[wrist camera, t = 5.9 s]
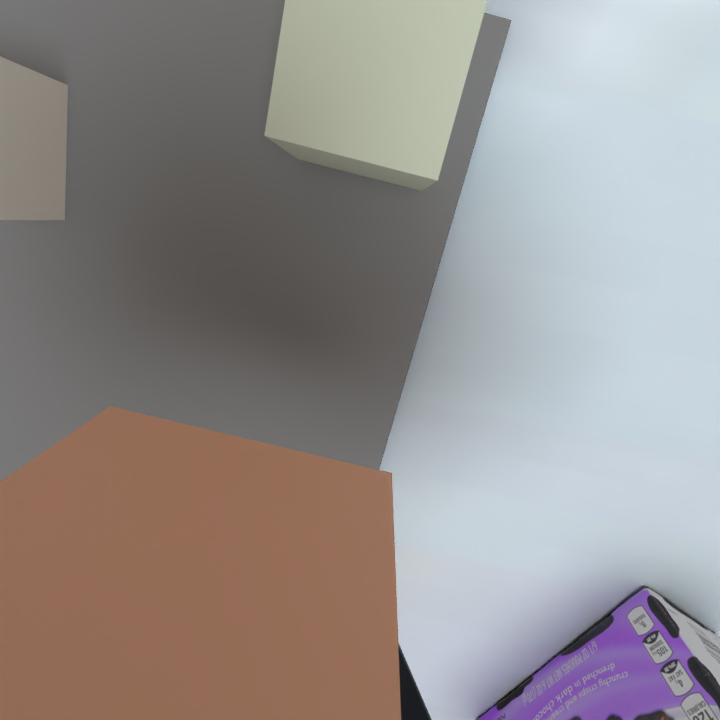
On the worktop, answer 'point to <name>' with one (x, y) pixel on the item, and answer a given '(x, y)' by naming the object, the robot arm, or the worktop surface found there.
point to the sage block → (372, 84)
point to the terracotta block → (195, 580)
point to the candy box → (627, 671)
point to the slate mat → (210, 241)
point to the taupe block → (32, 144)
